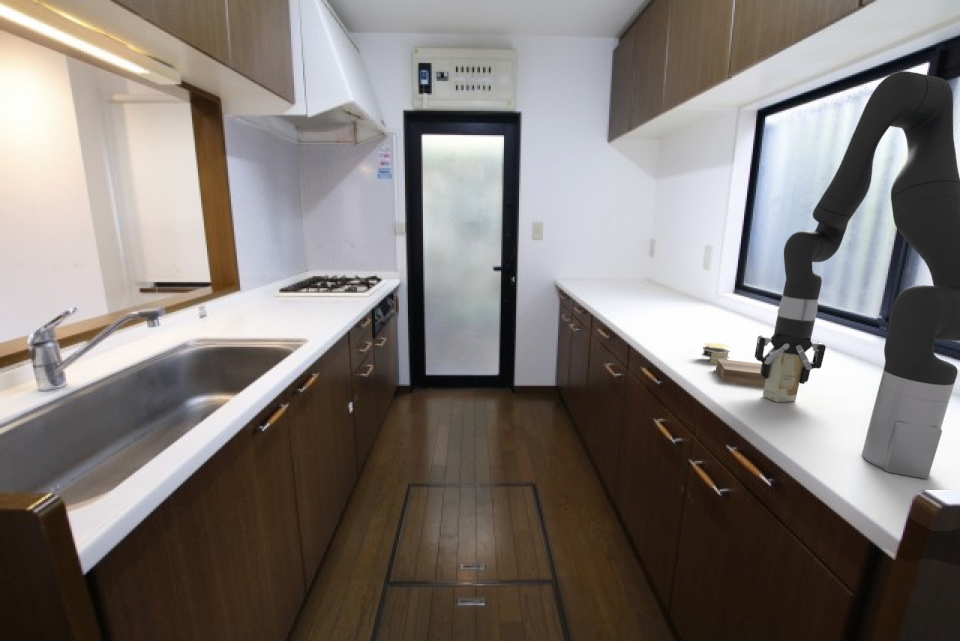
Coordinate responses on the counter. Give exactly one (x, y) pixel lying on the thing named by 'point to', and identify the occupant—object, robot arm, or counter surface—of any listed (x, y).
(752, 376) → the walnut block
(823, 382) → the counter surface
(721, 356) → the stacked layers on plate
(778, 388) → the skincare box
